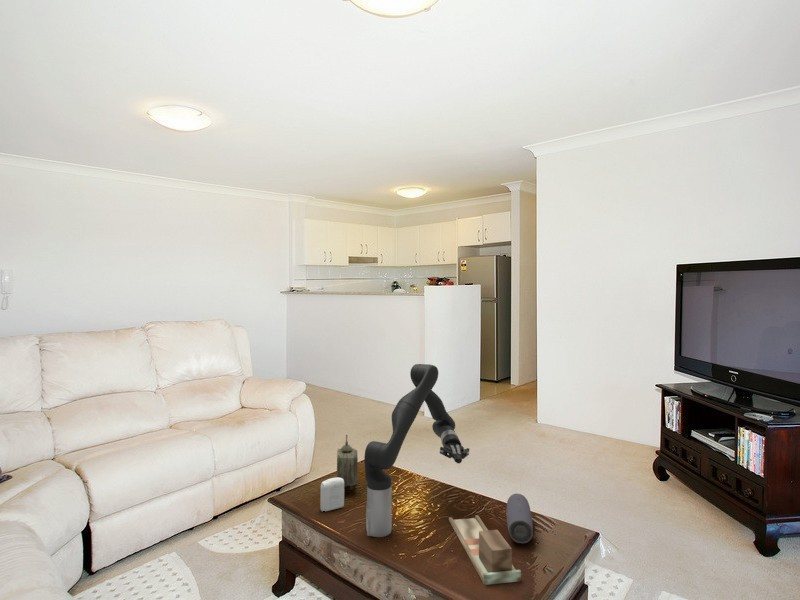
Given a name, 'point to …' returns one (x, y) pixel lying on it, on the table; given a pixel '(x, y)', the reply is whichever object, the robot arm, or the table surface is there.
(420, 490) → the table surface
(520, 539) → the bluetooth speaker
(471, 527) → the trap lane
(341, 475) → the grey-brown tall piece
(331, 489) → the photo printer
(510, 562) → the walnut block
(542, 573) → the table surface
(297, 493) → the table surface
